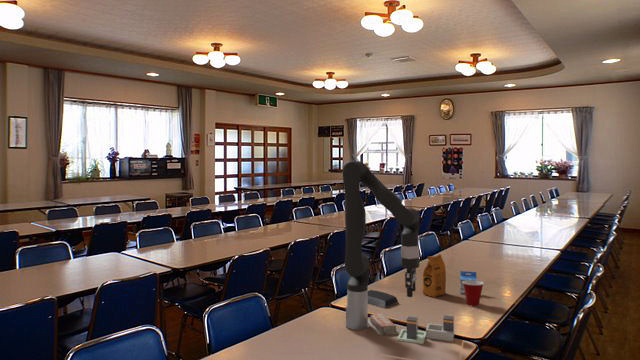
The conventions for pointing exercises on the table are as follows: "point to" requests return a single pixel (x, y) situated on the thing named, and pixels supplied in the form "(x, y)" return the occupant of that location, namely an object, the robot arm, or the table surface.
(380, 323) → the packaged product
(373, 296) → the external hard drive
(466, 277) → the label tape box
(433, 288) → the coffee package
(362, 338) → the table surface
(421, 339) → the tray
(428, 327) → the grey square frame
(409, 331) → the plug
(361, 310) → the robot arm
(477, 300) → the plastic cup
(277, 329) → the table surface
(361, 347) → the table surface
